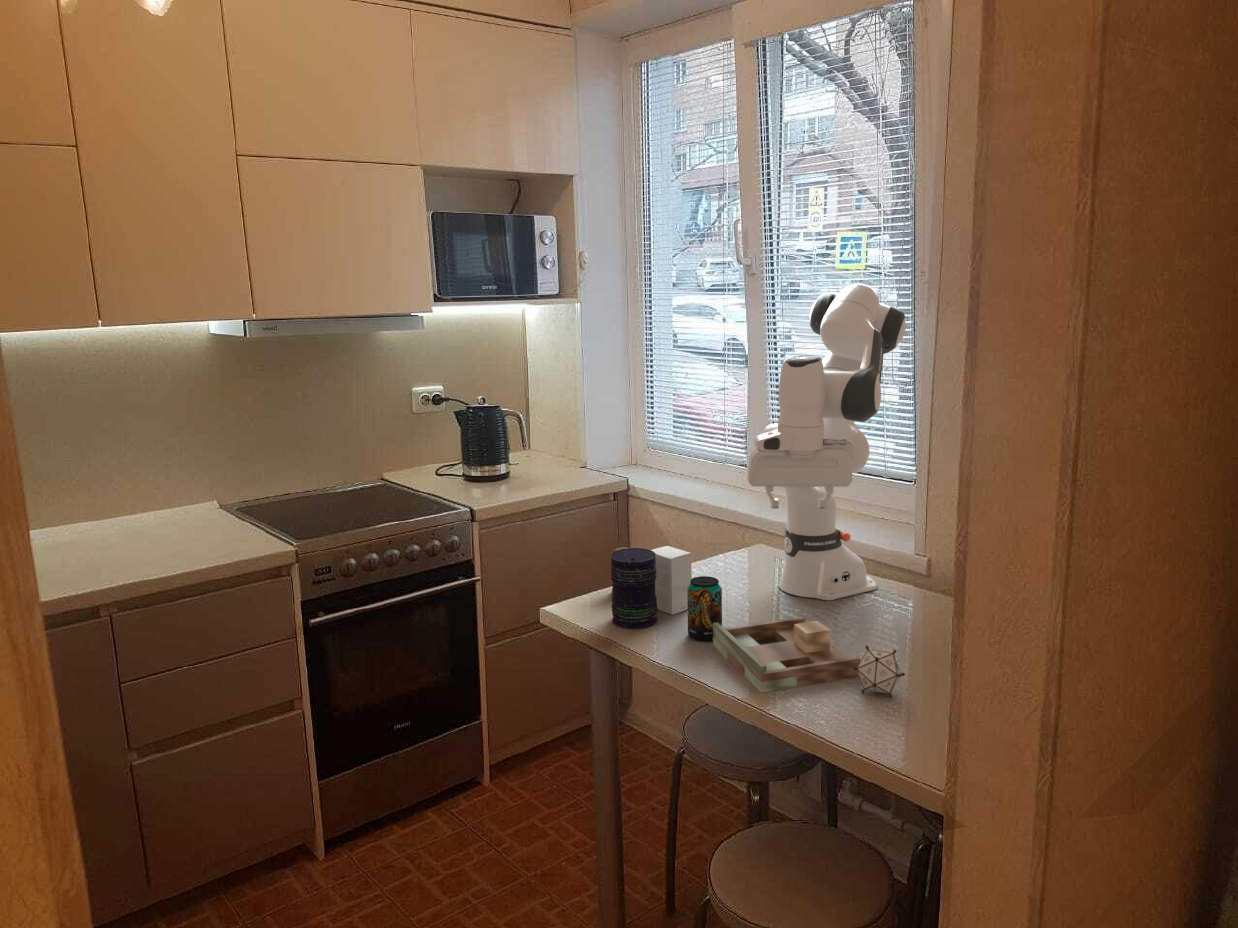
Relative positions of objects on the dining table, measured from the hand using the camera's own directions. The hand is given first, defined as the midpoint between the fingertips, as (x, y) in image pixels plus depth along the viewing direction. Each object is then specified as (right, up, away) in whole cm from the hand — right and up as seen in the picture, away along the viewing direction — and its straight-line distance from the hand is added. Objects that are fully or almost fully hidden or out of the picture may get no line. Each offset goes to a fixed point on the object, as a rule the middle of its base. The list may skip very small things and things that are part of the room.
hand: (798, 508), depth 182 cm
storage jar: (-32, -25, +17) cm, 44 cm away
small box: (-24, -24, +24) cm, 42 cm away
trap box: (-4, -29, -5) cm, 30 cm away
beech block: (+2, -27, -4) cm, 27 cm away
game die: (+10, -32, -19) cm, 39 cm away
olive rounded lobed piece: (-34, -22, +34) cm, 53 cm away
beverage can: (-18, -27, +8) cm, 33 cm away
